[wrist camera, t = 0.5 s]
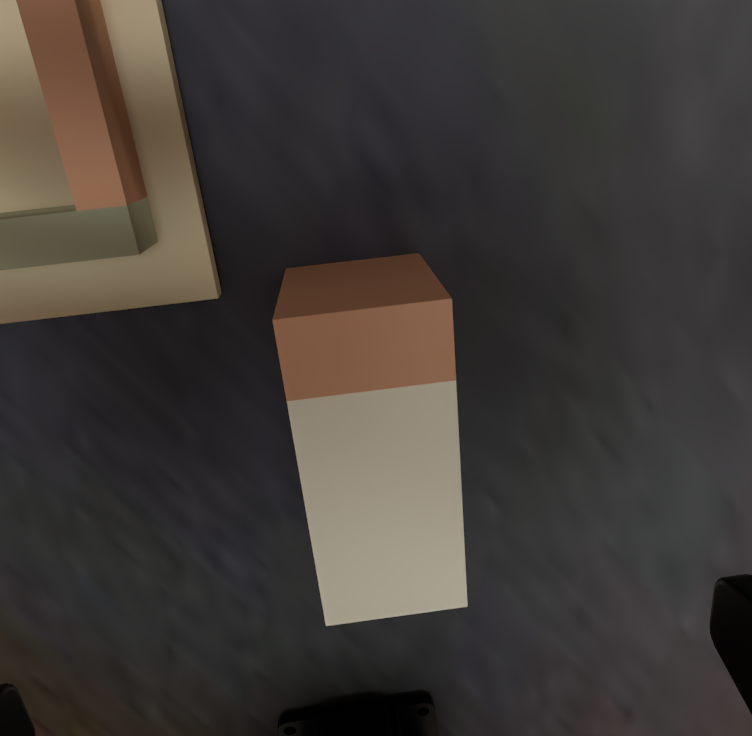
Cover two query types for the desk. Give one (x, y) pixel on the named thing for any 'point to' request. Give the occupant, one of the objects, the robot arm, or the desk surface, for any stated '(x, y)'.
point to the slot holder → (95, 164)
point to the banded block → (375, 433)
